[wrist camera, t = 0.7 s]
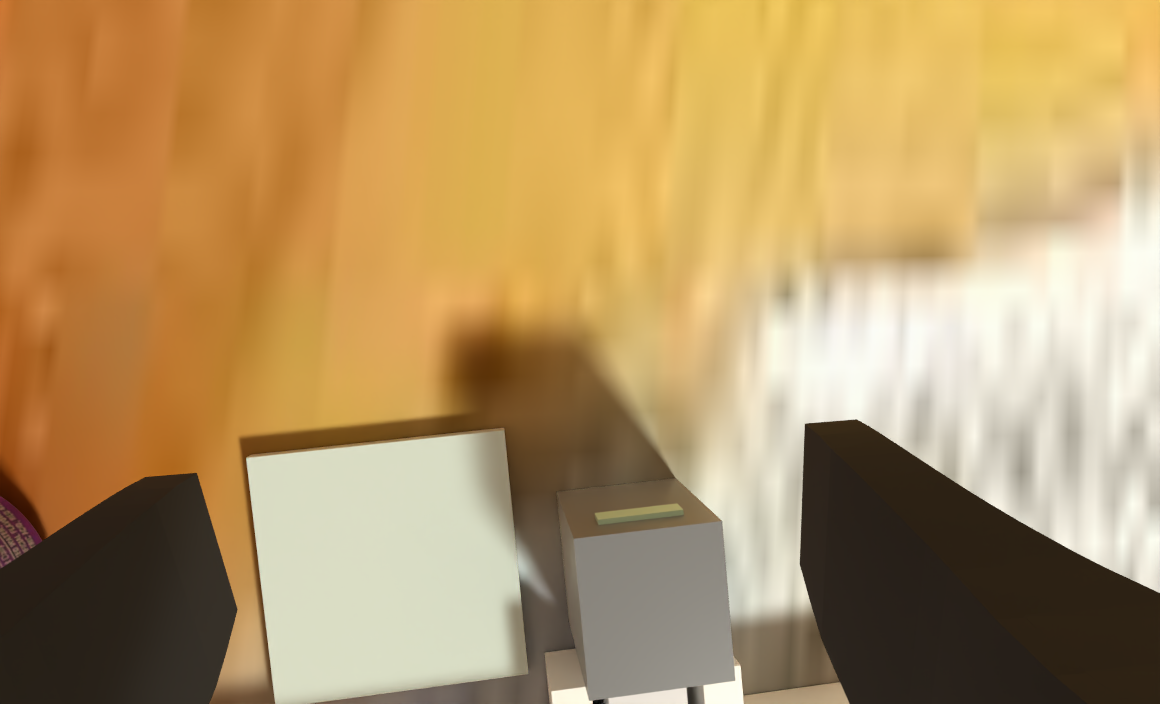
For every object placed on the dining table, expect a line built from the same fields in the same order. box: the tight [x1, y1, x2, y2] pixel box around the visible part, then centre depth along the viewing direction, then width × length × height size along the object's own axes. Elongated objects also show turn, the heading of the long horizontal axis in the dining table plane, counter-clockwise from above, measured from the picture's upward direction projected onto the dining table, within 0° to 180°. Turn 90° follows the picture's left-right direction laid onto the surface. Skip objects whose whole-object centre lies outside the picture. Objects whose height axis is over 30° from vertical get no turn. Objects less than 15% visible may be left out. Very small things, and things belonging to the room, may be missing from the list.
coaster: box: [246, 428, 528, 704], centre depth 29 cm, size 8×8×1 cm
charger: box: [556, 478, 735, 704], centre depth 27 cm, size 8×4×6 cm, turn 5°
